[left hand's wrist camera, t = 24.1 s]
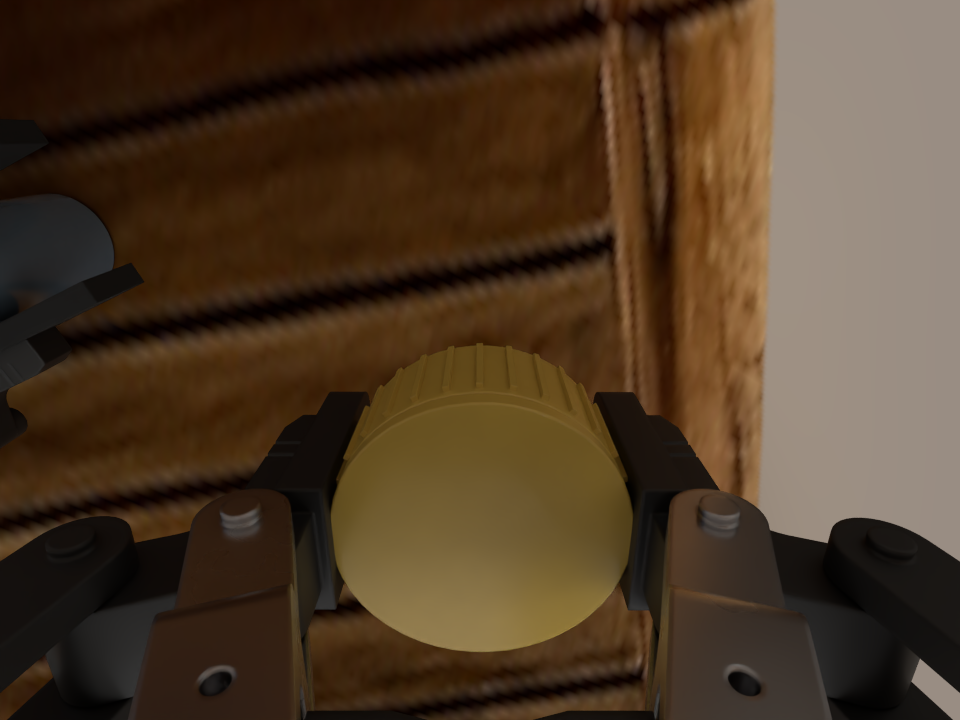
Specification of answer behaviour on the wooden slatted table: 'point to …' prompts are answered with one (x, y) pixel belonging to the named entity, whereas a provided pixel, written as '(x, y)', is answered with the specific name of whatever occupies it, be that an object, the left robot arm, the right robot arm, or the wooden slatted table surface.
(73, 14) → the wooden slatted table surface
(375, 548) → the lid
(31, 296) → the grey bottle
